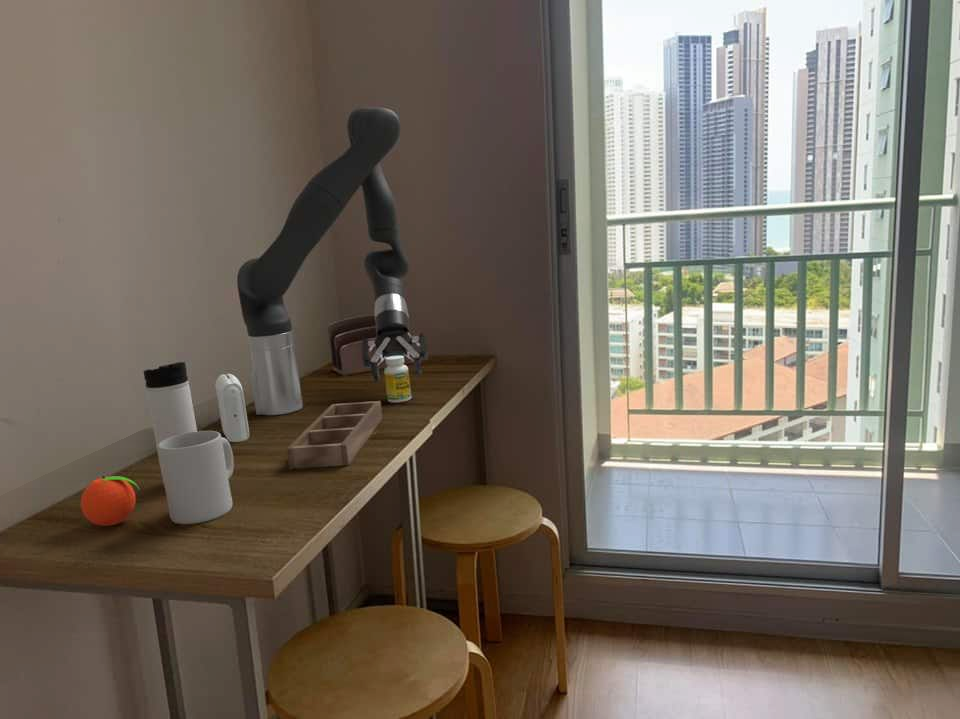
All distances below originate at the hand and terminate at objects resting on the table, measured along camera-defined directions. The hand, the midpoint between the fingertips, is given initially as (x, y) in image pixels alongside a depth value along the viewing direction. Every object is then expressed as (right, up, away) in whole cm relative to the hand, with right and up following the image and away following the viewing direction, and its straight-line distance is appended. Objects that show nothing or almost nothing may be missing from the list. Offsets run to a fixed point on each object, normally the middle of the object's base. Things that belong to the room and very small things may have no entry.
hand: (397, 377), depth 160 cm
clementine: (-34, -20, -55) cm, 67 cm away
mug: (-21, -18, -52) cm, 59 cm away
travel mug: (-30, -16, -40) cm, 53 cm away
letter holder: (-11, +1, +42) cm, 43 cm away
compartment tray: (-8, -11, -25) cm, 28 cm away
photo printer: (-30, -11, -15) cm, 35 cm away
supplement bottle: (0, -5, +2) cm, 6 cm away
